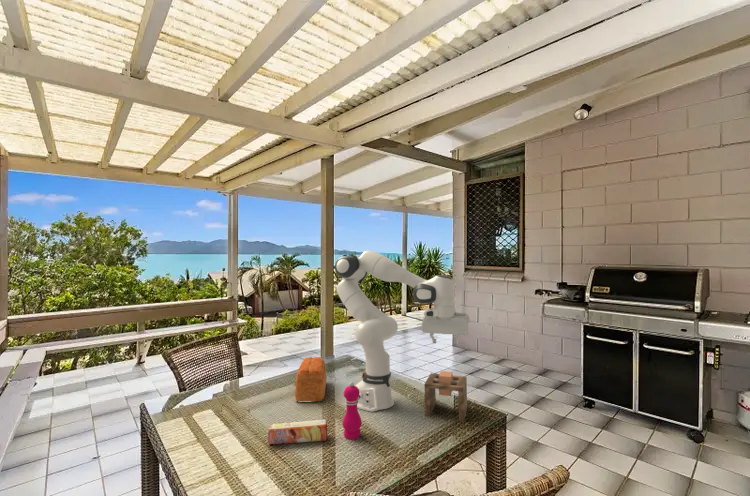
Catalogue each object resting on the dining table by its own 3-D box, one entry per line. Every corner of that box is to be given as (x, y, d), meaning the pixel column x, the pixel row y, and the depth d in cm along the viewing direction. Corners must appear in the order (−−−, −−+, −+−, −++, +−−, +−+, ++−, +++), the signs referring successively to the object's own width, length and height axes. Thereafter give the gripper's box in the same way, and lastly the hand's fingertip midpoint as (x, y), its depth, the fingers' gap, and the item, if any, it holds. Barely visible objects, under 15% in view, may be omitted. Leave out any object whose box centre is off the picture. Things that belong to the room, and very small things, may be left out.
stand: (425, 416, 146) (424, 383, 147) (431, 402, 160) (430, 372, 160) (464, 421, 141) (463, 387, 141) (467, 407, 154) (466, 376, 155)
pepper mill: (359, 440, 127) (358, 385, 128) (340, 439, 129) (339, 384, 129) (363, 431, 135) (362, 379, 135) (345, 429, 136) (345, 378, 137)
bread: (327, 382, 189) (326, 354, 190) (324, 402, 163) (323, 369, 163) (301, 383, 188) (300, 355, 188) (293, 403, 161) (293, 371, 162)
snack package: (267, 447, 124) (267, 428, 125) (271, 438, 131) (271, 419, 131) (327, 443, 126) (326, 424, 127) (327, 434, 133) (327, 416, 133)
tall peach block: (439, 394, 148) (438, 375, 148) (441, 388, 155) (441, 370, 155) (450, 396, 147) (450, 377, 147) (453, 390, 153) (452, 371, 153)
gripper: (469, 311, 151) (470, 343, 151) (423, 310, 158) (424, 340, 158) (468, 314, 145) (469, 347, 145) (420, 312, 152) (421, 344, 152)
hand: (445, 343), depth 151 cm, fingers open, 8 cm apart
